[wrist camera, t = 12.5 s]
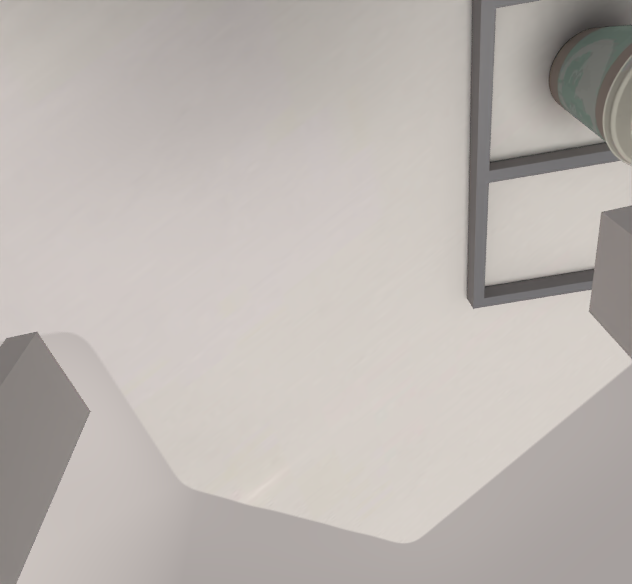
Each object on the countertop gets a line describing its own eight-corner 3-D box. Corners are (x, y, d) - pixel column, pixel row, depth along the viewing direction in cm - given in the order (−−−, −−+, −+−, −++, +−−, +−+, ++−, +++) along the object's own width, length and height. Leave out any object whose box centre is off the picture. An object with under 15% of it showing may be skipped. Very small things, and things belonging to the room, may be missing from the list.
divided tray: (472, -7, 34) (481, -7, 33) (742, -56, 34) (763, -58, 32) (467, 298, 48) (473, 308, 47) (657, 267, 48) (669, 276, 46)
